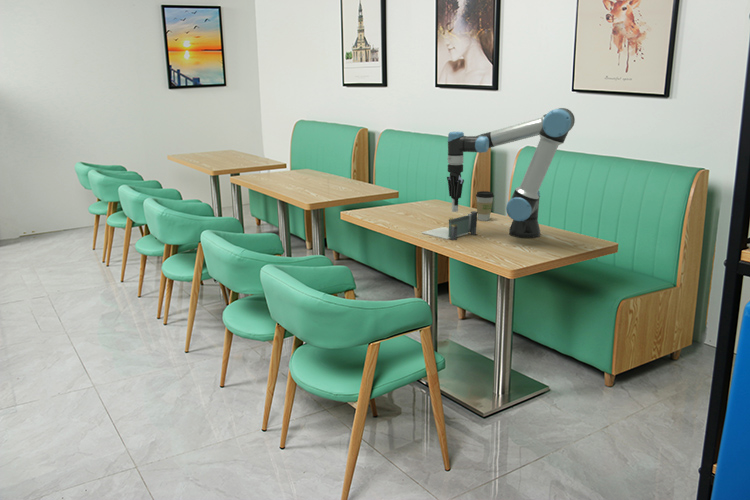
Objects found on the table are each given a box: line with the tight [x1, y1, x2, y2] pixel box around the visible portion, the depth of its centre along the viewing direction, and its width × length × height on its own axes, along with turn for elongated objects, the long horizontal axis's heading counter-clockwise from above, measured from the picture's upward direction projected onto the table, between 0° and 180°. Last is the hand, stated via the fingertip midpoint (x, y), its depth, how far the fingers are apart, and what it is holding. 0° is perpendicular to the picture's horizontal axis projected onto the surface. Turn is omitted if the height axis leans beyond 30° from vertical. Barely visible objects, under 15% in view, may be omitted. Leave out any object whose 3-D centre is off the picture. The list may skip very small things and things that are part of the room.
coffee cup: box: [475, 190, 495, 222], centre depth 340 cm, size 10×10×15 cm
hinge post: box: [469, 210, 478, 236], centre depth 308 cm, size 3×3×12 cm
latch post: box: [450, 224, 458, 241], centre depth 299 cm, size 2×3×7 cm
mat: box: [420, 226, 470, 240], centre depth 312 cm, size 17×17×1 cm
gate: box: [448, 213, 471, 237], centre depth 305 cm, size 16×2×10 cm, turn 134°
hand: (454, 211), depth 309 cm, fingers closed
